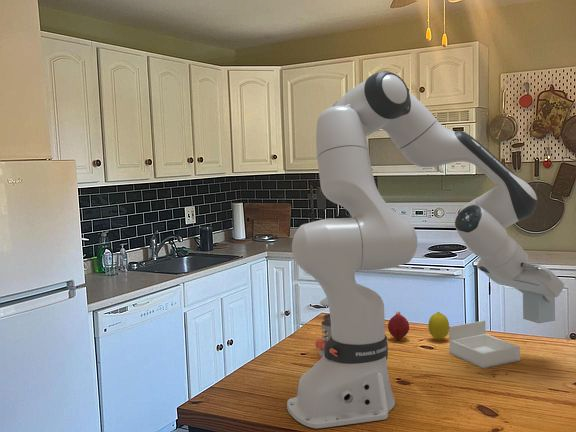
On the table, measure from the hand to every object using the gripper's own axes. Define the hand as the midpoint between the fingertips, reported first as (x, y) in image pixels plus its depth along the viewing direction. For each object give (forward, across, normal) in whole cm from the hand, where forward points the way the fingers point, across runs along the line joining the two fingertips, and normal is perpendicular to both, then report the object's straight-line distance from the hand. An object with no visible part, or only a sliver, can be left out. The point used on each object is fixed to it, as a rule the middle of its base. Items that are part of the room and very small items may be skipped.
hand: (540, 297), depth 142 cm
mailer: (+4, +8, +18) cm, 20 cm away
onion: (-4, +31, +26) cm, 40 cm away
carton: (+3, 0, +4) cm, 5 cm away
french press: (-18, +29, +40) cm, 52 cm away
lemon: (+3, +25, +19) cm, 31 cm away
